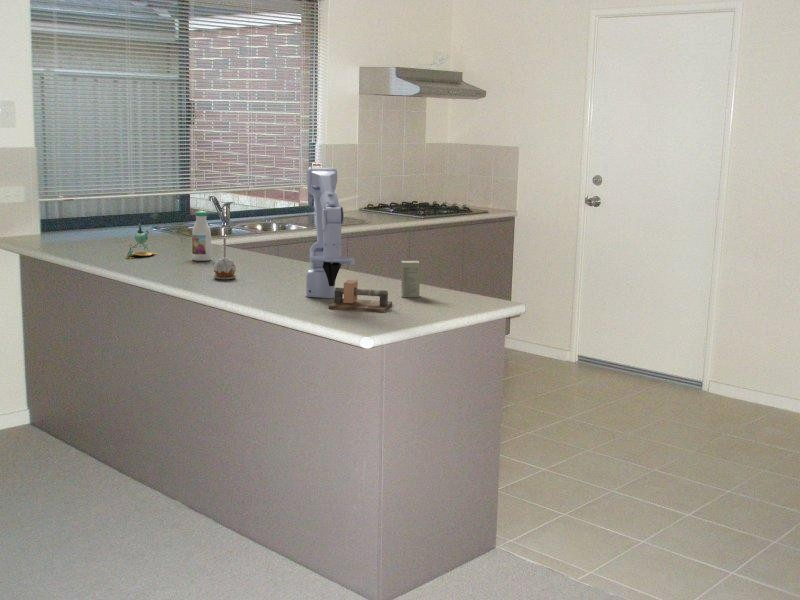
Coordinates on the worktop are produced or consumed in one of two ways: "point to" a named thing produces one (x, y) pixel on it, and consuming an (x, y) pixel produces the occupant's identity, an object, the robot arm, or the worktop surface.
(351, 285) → the collar
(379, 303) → the pipe rig
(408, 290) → the skincare box
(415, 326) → the worktop surface
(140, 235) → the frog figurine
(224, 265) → the decorative ornament
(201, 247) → the milk bottle
